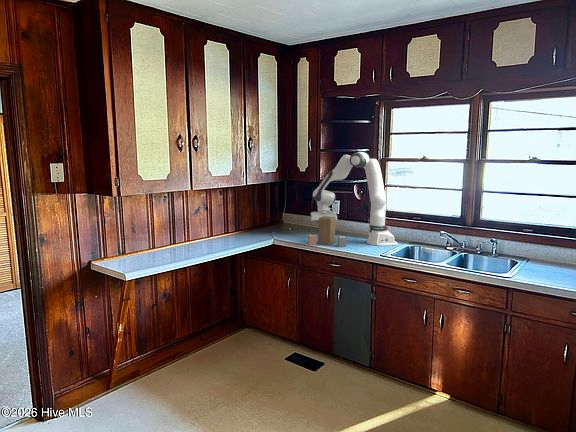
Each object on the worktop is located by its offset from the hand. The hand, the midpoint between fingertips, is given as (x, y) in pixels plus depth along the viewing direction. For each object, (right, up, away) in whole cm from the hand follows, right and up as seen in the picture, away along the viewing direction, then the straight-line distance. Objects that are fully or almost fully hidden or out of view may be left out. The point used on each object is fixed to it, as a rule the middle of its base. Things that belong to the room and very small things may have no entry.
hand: (324, 226), depth 325 cm
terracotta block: (-10, -13, -12) cm, 21 cm away
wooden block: (0, -13, -9) cm, 16 cm away
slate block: (+11, -14, -17) cm, 25 cm away
